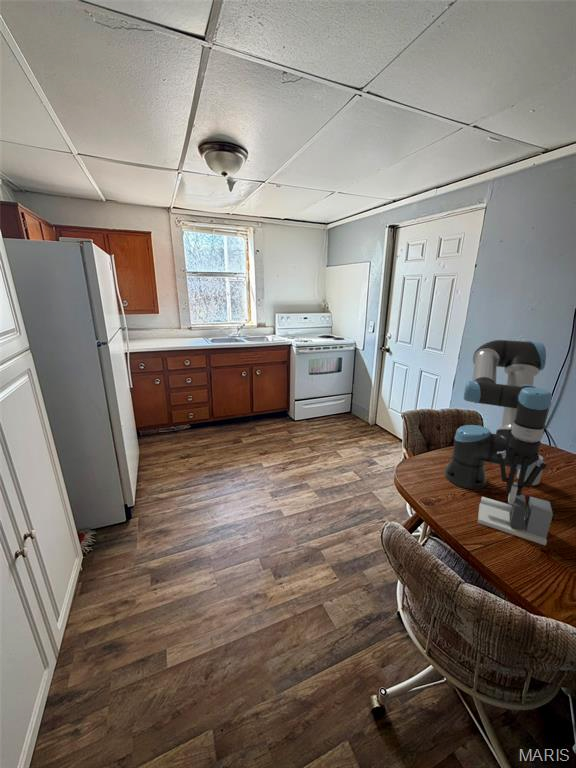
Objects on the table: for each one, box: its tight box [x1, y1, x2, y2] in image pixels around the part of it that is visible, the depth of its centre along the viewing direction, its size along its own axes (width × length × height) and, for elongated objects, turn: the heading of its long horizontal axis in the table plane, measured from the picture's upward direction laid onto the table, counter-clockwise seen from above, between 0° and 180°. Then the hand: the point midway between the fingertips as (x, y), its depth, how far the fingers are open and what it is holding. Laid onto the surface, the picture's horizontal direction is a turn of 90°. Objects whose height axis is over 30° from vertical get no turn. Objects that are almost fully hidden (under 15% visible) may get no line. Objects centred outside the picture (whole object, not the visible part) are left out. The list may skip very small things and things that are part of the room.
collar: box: [509, 494, 527, 530], centre depth 100 cm, size 3×8×8 cm, turn 146°
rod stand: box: [477, 496, 554, 547], centre depth 101 cm, size 18×10×10 cm, turn 56°
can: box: [516, 454, 545, 486], centre depth 124 cm, size 8×8×12 cm
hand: (510, 501), depth 100 cm, fingers closed
